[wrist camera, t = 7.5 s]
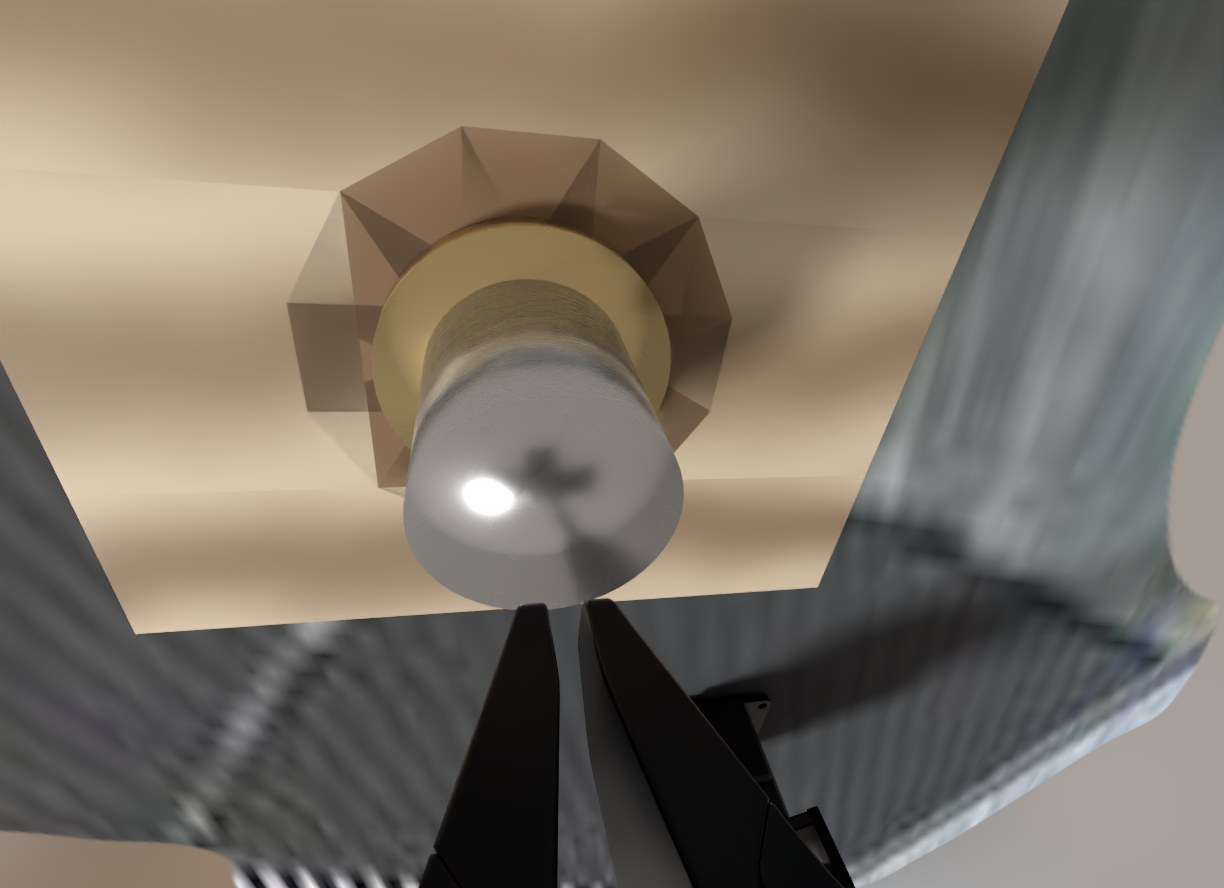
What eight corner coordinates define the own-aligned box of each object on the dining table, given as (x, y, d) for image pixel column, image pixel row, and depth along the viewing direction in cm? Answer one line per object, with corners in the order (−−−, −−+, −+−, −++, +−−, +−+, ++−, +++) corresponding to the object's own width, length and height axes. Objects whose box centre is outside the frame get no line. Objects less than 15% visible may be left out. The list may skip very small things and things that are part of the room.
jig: (774, 515, 26) (817, 587, 23) (186, 539, 21) (135, 633, 18) (955, -15, 16) (1078, -21, 13) (-87, -194, 11) (-313, -274, 8)
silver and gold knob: (619, 407, 21) (702, 632, 13) (402, 407, 19) (357, 661, 12) (648, 189, 17) (789, 334, 9) (380, 168, 15) (291, 321, 8)
